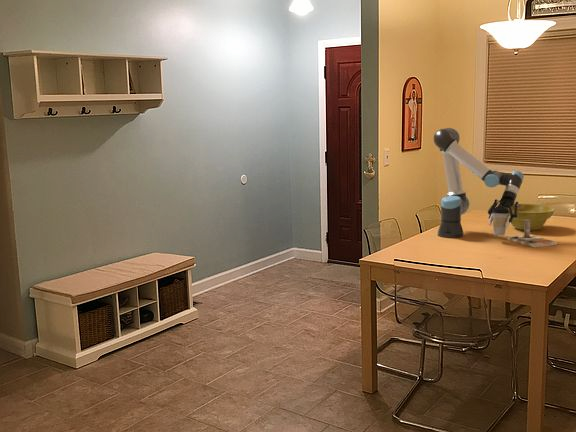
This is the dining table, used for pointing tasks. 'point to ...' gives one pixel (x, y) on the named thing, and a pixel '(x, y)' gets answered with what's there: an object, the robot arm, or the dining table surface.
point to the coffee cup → (500, 220)
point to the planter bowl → (531, 215)
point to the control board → (531, 238)
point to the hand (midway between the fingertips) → (497, 225)
